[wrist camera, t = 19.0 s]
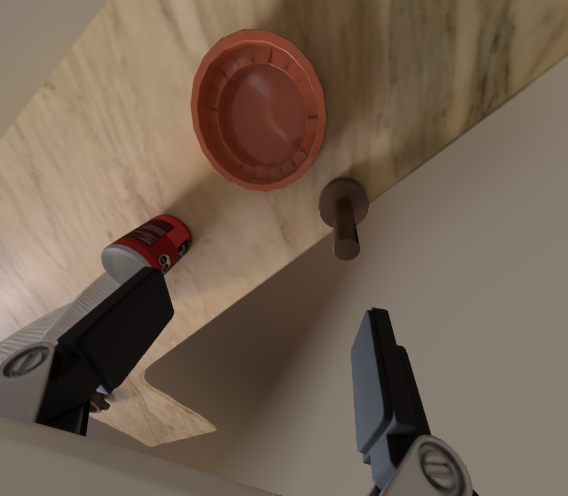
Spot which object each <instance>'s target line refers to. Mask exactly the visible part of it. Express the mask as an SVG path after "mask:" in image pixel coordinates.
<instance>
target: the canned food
mask: <svg viewBox="0 0 568 496" xmlns="http://www.w3.org/2000/svg"><path fill="white" fill-rule="evenodd" d="M191 244H192V237H191V234H190V231H189V230H188V228H187V227H186V226H185V224H184V223H183V222H181V221H180V220H179V219H177V218H175V217H173V216H170V215H160V216H156V217H154V218H153V219H151V220H149V221H148V222H146V223H144V224H143V225H141V226H139V227H138V228H136V229H134V230H133V231H131V232H130V233H128V234H126V235H125V236H123V237H121V238H120V239H118V240H116V241H115V242H113V243H112V244H110V245H108V246H107V247H106V248H105V249H104V250H102V252H101V257H100V258H101V262H102V265H103V267H104V269H105V270H106V272H107V273H108V274H109V275H110V276H111V277H112V278H113V279H114V280H115V281H116V282H117V283H119V284H120V285H122V284H124V283H125V282H126V281H127V280H128V279H130V278H131V277H132V276H133V275H134V274H136V273H137V272H138V271H139V270H140V269H142V268H143V267H145V266H148V267H153V268H158V269H160V271H161V272H162V273H163V276H164V275H165V274H166V273H167V272H168V271H169V270H170V269H171V268H172V267H173V266H174V265H175V264H176V263H177V262H178V261H179V260H180V259H181V258H182V257H183V256H184V255H185V254H186V253H187V252H188V251H189V249H190V247H191Z"/></svg>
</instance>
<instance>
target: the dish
mask: <svg viewBox="0 0 568 496" xmlns="http://www.w3.org/2000/svg"><path fill="white" fill-rule="evenodd" d="M109 407H110V404H109V403H107V402H106V401H105V399H104V397H103V395H102V394H101V393H100V392H97V390H96V391H95V392H94V394H93V395H92V396H91V402H90V409H89V413H100V412H101V410H108V409H109Z"/></svg>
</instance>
